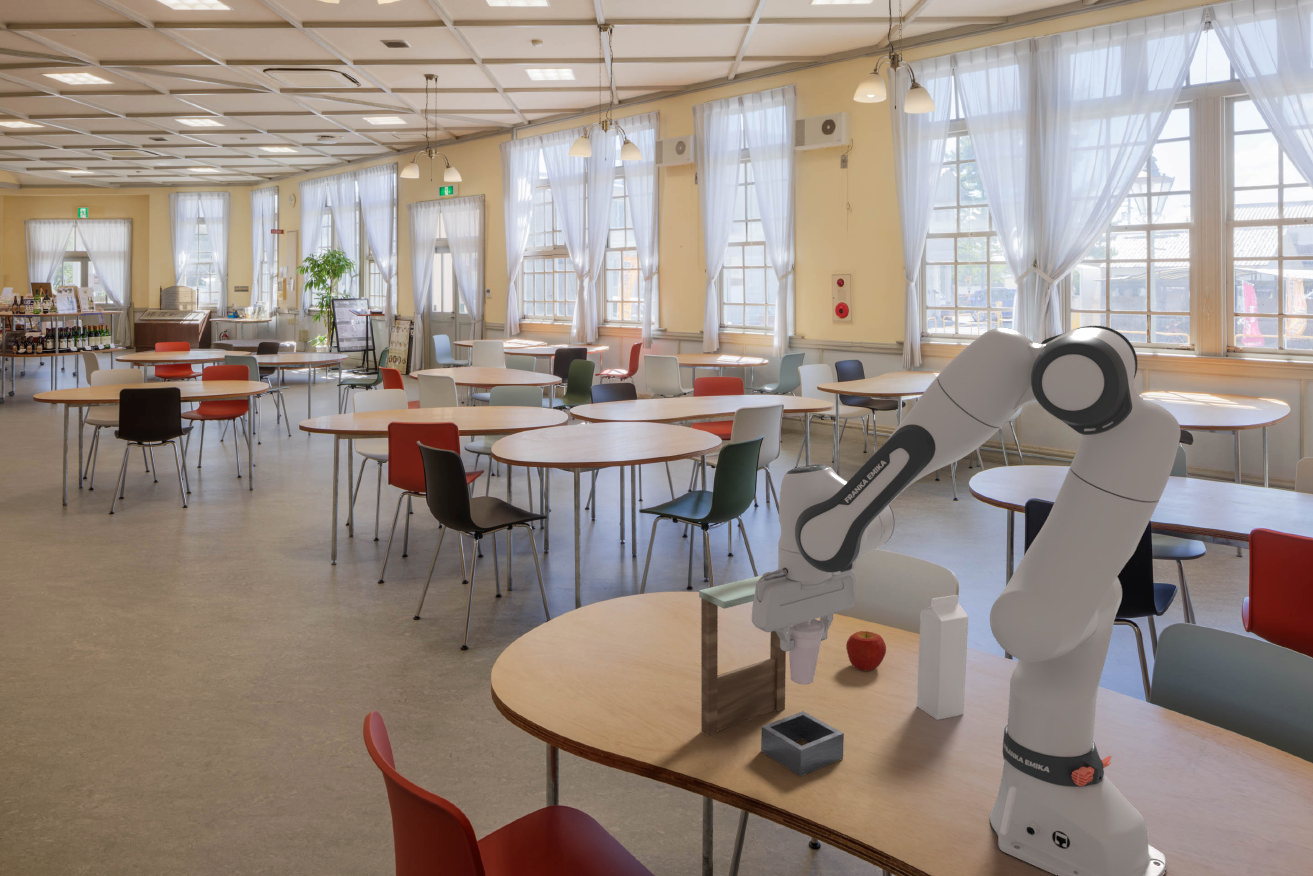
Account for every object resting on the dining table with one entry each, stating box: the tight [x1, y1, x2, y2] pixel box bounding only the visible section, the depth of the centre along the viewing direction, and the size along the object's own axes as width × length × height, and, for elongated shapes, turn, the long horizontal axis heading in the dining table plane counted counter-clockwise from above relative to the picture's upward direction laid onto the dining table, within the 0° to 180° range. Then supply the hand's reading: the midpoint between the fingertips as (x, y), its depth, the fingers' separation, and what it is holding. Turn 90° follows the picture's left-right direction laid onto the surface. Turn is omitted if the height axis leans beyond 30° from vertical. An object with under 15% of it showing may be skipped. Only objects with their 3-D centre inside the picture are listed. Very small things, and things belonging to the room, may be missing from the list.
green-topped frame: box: [698, 574, 787, 737], centre depth 154 cm, size 7×19×26 cm, turn 124°
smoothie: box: [787, 619, 825, 685], centre depth 143 cm, size 6×6×14 cm
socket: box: [760, 710, 845, 777], centre depth 145 cm, size 10×10×4 cm
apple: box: [845, 630, 887, 672], centre depth 179 cm, size 8×8×8 cm
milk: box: [916, 594, 969, 721], centre depth 159 cm, size 6×6×22 cm
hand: (804, 644), depth 143 cm, fingers closed on smoothie, 6 cm apart
